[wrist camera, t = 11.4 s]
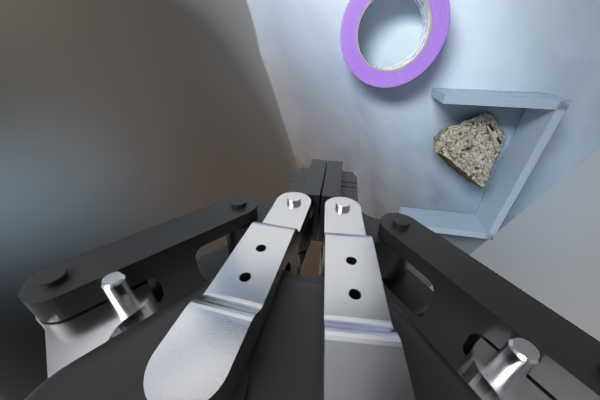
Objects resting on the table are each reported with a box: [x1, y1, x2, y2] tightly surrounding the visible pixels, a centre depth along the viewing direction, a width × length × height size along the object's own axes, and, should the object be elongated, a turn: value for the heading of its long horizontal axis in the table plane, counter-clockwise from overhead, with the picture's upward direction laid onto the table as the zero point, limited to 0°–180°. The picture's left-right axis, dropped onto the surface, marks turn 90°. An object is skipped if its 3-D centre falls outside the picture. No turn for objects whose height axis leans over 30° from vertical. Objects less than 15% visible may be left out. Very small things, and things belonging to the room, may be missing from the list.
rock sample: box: [434, 112, 506, 188], centre depth 34 cm, size 10×8×9 cm
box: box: [399, 88, 571, 239], centre depth 36 cm, size 20×13×5 cm, turn 179°
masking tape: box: [340, 0, 450, 88], centre depth 30 cm, size 12×12×4 cm
